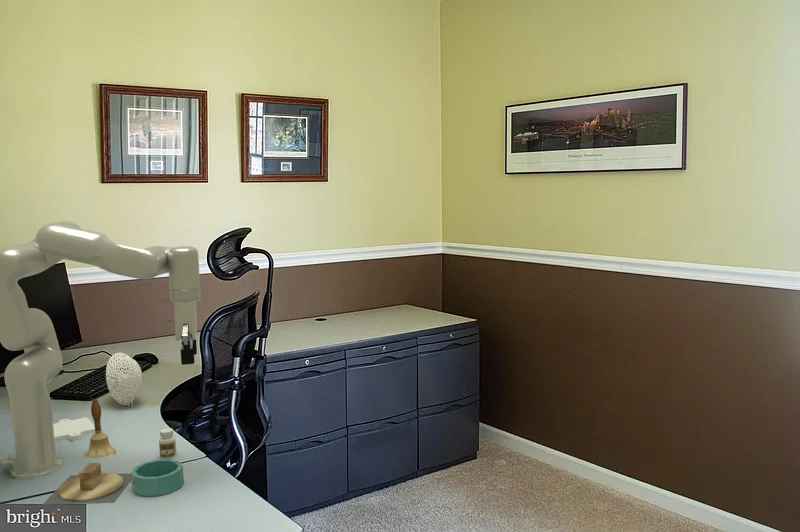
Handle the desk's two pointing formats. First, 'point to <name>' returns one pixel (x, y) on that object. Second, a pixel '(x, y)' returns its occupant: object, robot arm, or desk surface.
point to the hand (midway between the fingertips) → (189, 359)
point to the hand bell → (98, 436)
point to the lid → (90, 485)
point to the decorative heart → (123, 378)
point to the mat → (56, 500)
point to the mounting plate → (73, 429)
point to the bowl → (157, 477)
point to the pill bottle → (167, 444)
